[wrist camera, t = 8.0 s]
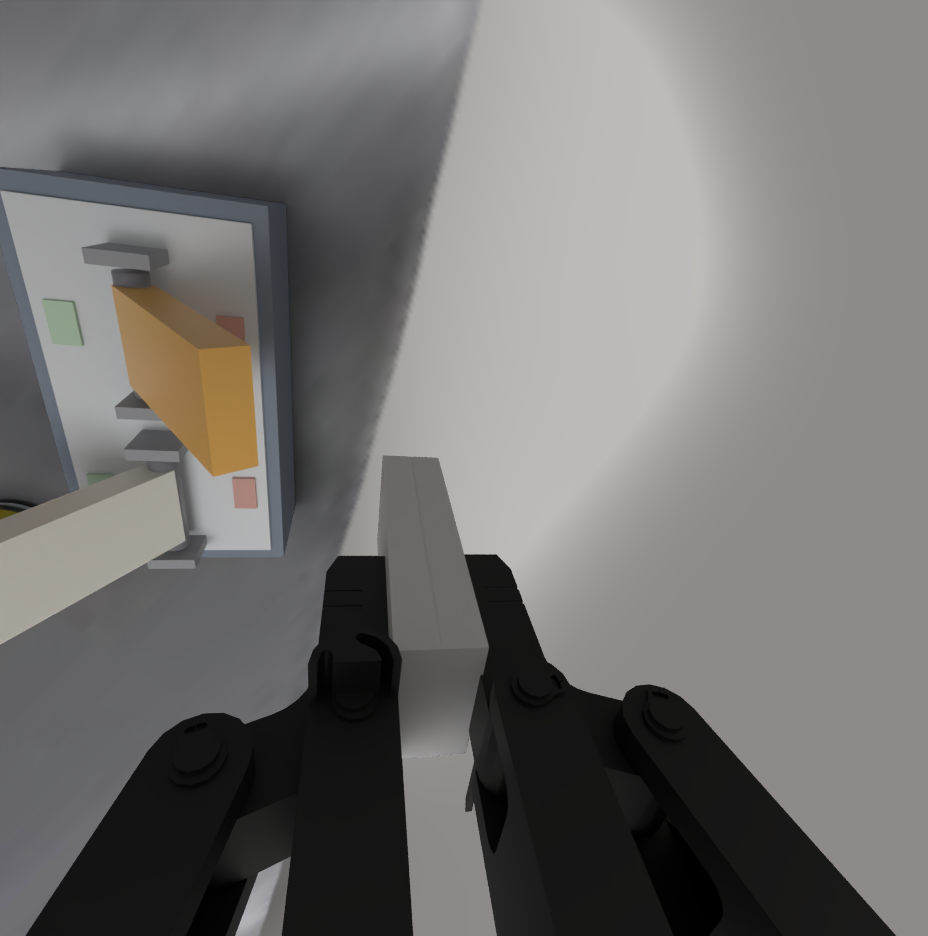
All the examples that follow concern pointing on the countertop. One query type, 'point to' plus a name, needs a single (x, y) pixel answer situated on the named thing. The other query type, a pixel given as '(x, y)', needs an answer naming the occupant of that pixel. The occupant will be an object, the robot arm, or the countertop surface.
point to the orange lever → (188, 373)
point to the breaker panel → (100, 346)
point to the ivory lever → (87, 542)
